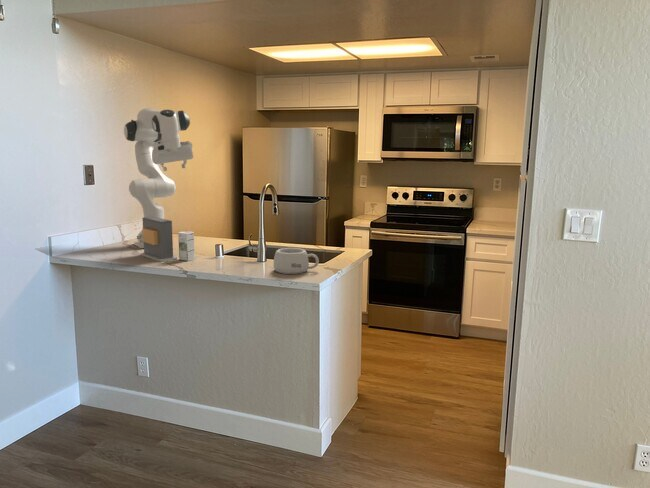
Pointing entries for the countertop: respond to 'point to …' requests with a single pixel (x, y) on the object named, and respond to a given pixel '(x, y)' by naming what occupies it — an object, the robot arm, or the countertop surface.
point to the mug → (293, 261)
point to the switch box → (159, 240)
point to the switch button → (150, 236)
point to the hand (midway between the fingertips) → (174, 169)
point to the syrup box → (186, 246)
